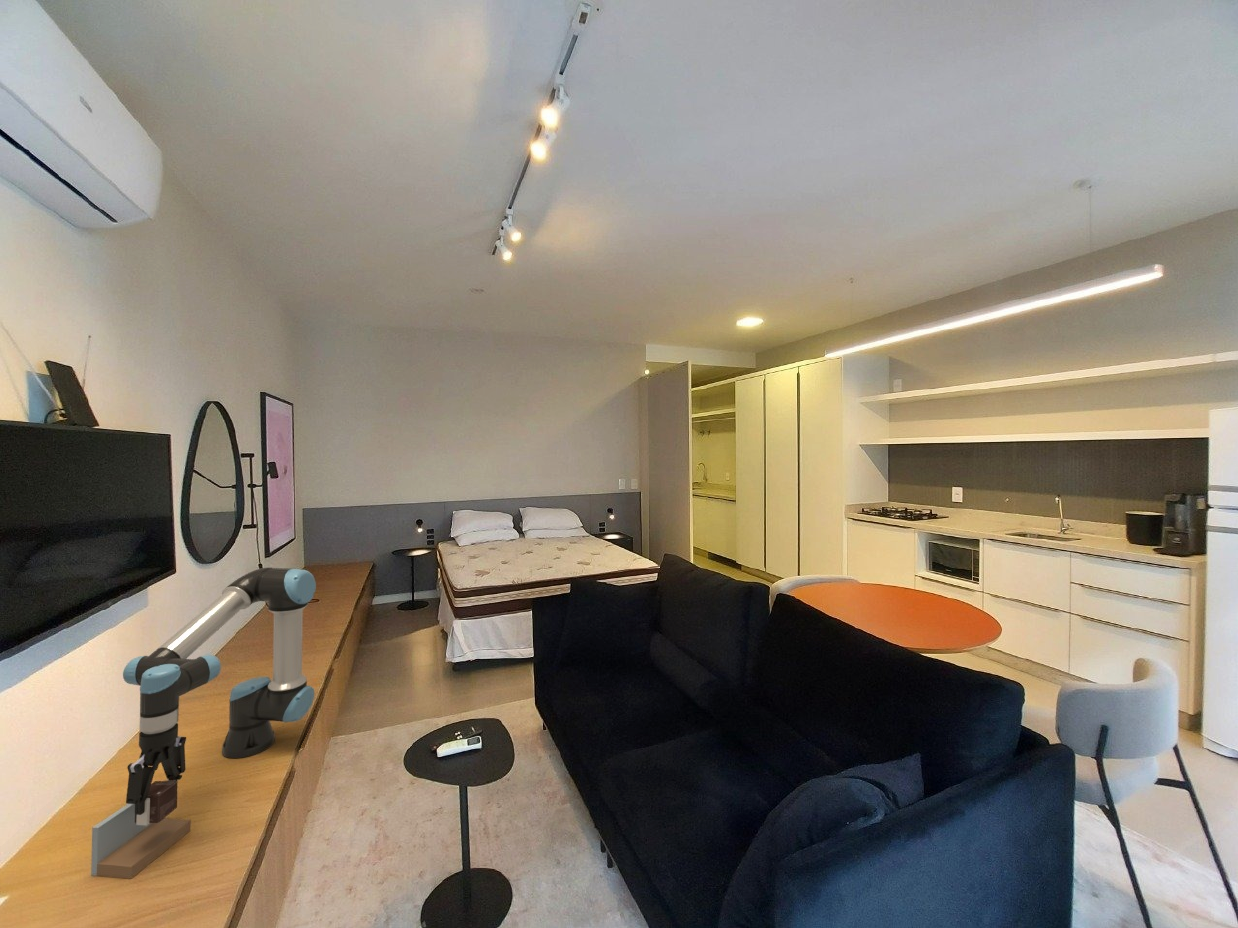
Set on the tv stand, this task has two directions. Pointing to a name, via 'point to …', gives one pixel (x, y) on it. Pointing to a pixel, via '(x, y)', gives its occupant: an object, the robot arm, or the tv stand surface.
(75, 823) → the tv stand surface
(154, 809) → the box
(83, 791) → the tv stand surface
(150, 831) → the board
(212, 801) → the tv stand surface
